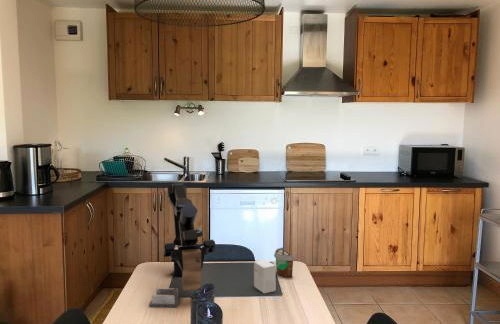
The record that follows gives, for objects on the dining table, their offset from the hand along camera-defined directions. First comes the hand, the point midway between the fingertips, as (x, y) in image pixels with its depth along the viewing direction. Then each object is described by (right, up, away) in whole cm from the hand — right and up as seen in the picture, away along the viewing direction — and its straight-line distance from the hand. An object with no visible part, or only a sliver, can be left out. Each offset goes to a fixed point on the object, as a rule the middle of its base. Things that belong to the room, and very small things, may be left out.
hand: (192, 269), depth 148 cm
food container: (+34, -11, +32) cm, 48 cm away
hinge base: (-10, -13, +3) cm, 17 cm away
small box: (+27, -12, +16) cm, 33 cm away
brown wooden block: (0, -7, +2) cm, 8 cm away
